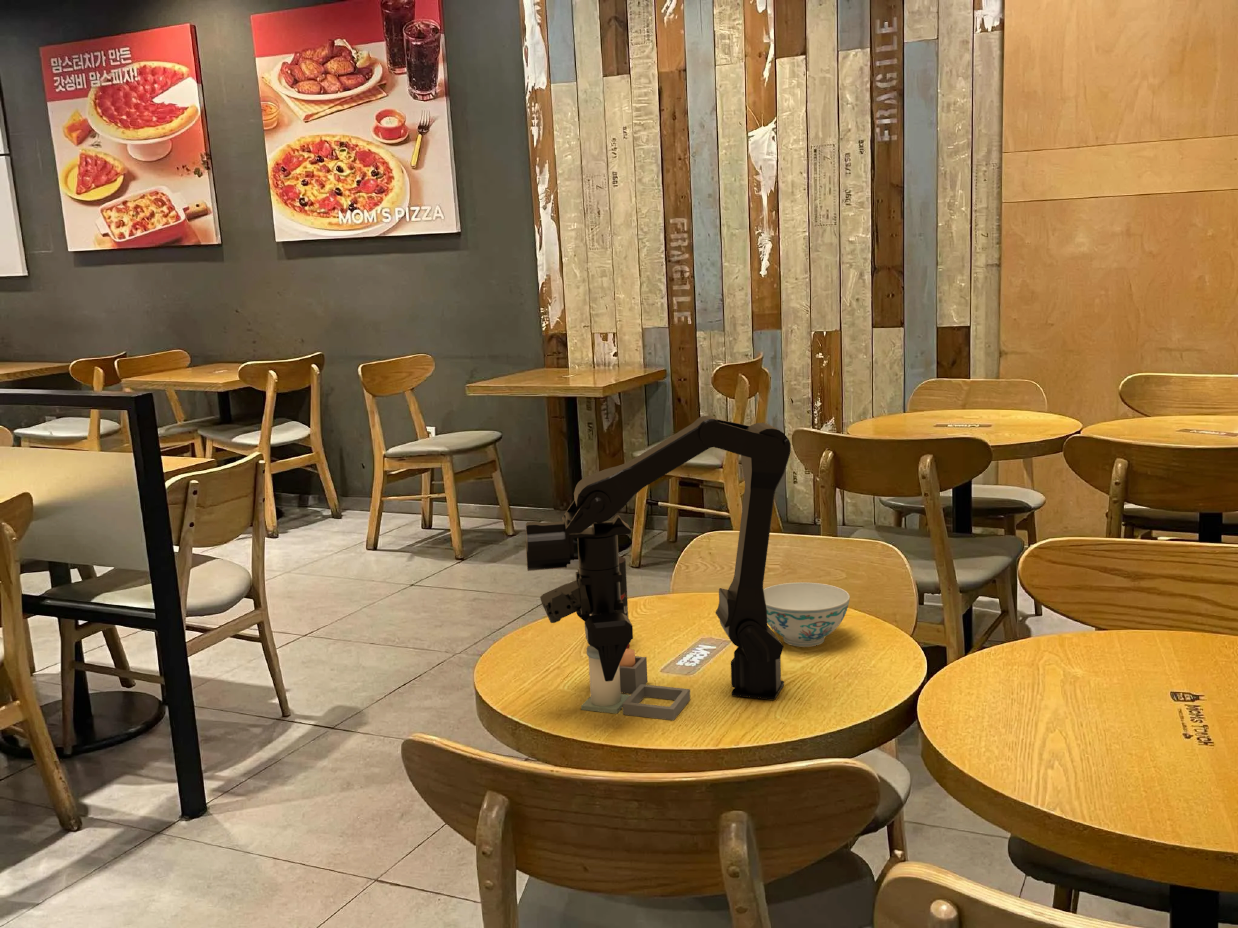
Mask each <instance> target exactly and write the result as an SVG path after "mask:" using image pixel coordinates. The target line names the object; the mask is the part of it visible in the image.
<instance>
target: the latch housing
mask: <svg viewBox="0 0 1238 928" xmlns="http://www.w3.org/2000/svg"><path fill="white" fill-rule="evenodd" d="M647 662H648V661H647V656H639V655H638V656H636V655H635V665H634V666H633V667H626V666H619V667H620V686H621V694H625V695H631V694H632V693H633V692H634V691H635V690H636V689H637V688H638V687H639V686H640V684H645V685H647V683H649V682H648V665H647V664H648V663H647Z"/></svg>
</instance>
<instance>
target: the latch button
mask: <svg viewBox="0 0 1238 928" xmlns="http://www.w3.org/2000/svg"><path fill="white" fill-rule="evenodd" d="M635 656H636V651H635V650H634V649H631V648H629V649H626V650H625V652H624V655H623V657H622V659H621V662H620V664H619V666H626V667H633V666H634V665H635Z"/></svg>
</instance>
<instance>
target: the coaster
mask: <svg viewBox="0 0 1238 928" xmlns="http://www.w3.org/2000/svg"><path fill="white" fill-rule="evenodd" d="M630 695H631V694H626V693H621V701H620V702H619V703H618V704H616V705H612V706H597V705H594V704H592V703H591V695H590V696H589V697H588V698H587V699H586V701H584V702H583V703H582V704H581V707H580V708H581V710H582V711H592V712H599V713H606V714H618V713H619V712H620V711H621V710H623V703H624V702H625V701H626V700H627V698H628V697H629V696H630Z"/></svg>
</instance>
